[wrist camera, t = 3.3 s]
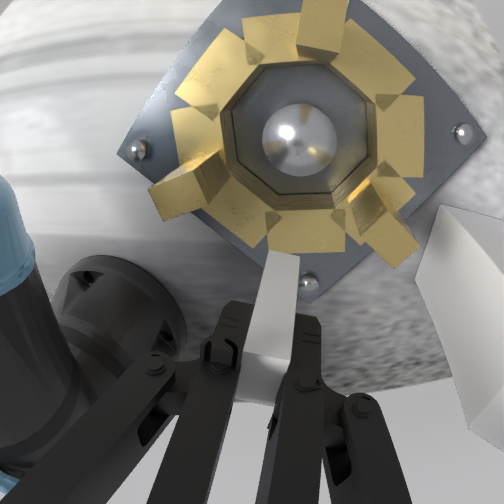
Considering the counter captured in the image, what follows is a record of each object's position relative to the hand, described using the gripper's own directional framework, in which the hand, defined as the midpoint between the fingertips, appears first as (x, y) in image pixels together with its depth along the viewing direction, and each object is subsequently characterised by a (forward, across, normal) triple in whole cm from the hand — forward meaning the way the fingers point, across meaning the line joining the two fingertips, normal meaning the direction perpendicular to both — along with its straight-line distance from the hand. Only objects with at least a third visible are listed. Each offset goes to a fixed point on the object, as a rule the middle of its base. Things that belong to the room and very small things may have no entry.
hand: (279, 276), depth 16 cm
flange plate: (+10, 0, +6) cm, 11 cm away
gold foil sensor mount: (+8, 0, +6) cm, 10 cm away
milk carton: (+10, +15, 0) cm, 18 cm away
